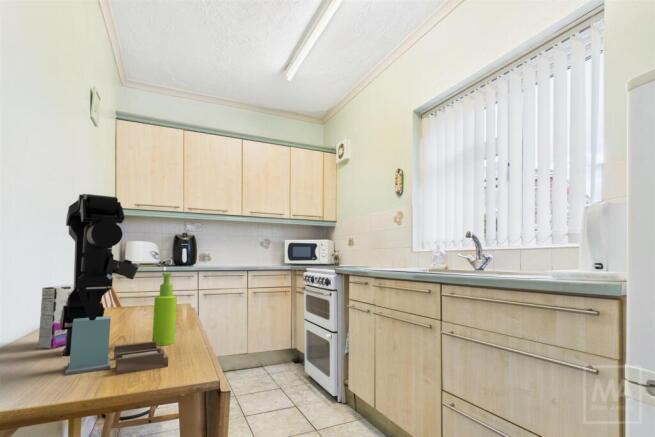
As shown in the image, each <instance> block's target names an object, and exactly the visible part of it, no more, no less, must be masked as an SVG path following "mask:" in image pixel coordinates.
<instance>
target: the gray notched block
mask: <svg viewBox="0 0 655 437" xmlns="http://www.w3.org/2000/svg"><path fill="white" fill-rule="evenodd" d="M154 353H158V352H157V351H153V352H145V353H138V354H130V355H122V358H124V357H132V356H139V355H147V354H154Z"/></svg>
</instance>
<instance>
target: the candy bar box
mask: <svg viewBox="0 0 655 437" xmlns="http://www.w3.org/2000/svg"><path fill="white" fill-rule="evenodd" d="M73 290H74V284H66V285H57V286H55V285H54V286H47V287H42V290H41V292H42V293H41V302H40V303H41V306H40V319H39V331H38V349H45V350H53V349H58V348H61V347H64V346H66V334H67V330H61V329H60V319H61V314H62V310H63V306H66V301H67V299H68V297H69V295H70V294H71V293H72V291H73ZM66 324H68V323H65V325H66ZM72 324H73V323H72Z"/></svg>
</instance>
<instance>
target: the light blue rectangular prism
mask: <svg viewBox="0 0 655 437" xmlns="http://www.w3.org/2000/svg"><path fill="white" fill-rule="evenodd" d="M110 333H111V315H106V316H105V315H104V316H103V317H96V319H95V320H89V318H79V319H74V320H73V327H72V339H71V352H70V355H69V363H70V364H69V369H75V368H83V367H90V366H97V365H104V364H108V357H109V346H110V337H111V336H110V335H111V334H110Z"/></svg>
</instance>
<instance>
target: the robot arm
mask: <svg viewBox="0 0 655 437" xmlns="http://www.w3.org/2000/svg"><path fill="white" fill-rule="evenodd" d="M124 221H125V213H124V208H123V206H122V204H121V202H120V201H119V199H118V197H117V196H111V195H101V194H100V195H99V194H92V193H91V194H90V193H89V194H87V193H82V194H79V195H78V198H77V200H76V201H75V202H73V203H72V204H70V205H68V209H67V213H66V221H65V226H66V227H68V235H69V236H70V237H71V239H73V241H74V266H73V269H74V270H73V285H74V290H73V291H72V293H71V294H70V295H69V297H68V299H67V301H66V306H63V310H62V314H61V319H60V329H61V330H67V334H66V345H65V347H64V348H63V350H62V354H61V355H62V356H70V352H71V339H72V327H73V324H72V323H73V320H74V319H79V318H89V320H95V319H96V317H104V316H105V309H106V308H105V307H104V305H103V302H102V299H103V296H104V295H105V294H106V293H108V292H109V291H110V290H111V289H112V287H113V281H114V280H113V278H114V277H113V274H116V275H119V276H123V277H125V278H127V279H129V280H134V278H135V276H136V273H137V272H138V270H139V266H136V265H133V261H132V260H129V259H124V260H122V261H120V260H118V259H117V260H116V259H114V256H115V255H114V254H113V247H115V246H116V245H117V244H119V243H120V242H121V241H122V238H123V231H122V230H123V229H122V228H121V226H120V224H122V223H123V222H124ZM65 323H68V324H66V325H65Z"/></svg>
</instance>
